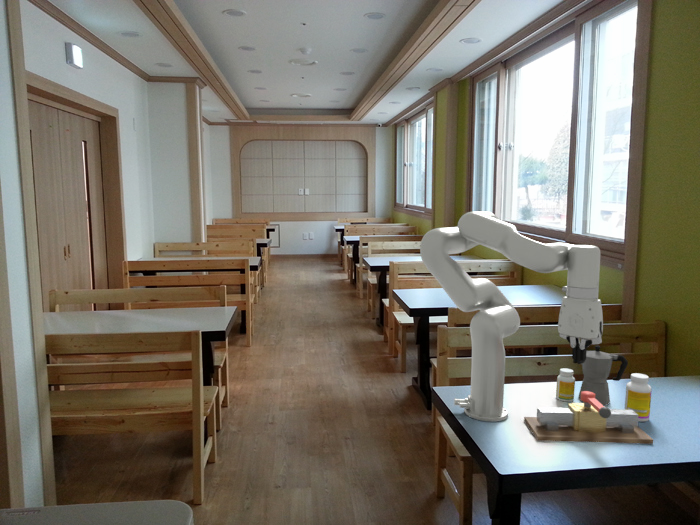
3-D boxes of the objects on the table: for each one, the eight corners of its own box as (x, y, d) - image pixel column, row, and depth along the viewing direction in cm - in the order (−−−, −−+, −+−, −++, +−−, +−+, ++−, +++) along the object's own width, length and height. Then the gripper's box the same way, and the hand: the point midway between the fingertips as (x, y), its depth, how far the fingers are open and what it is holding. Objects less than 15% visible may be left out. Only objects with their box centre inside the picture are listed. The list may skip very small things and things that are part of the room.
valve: (541, 433, 149) (543, 410, 149) (534, 423, 156) (535, 401, 155) (639, 436, 148) (641, 413, 148) (628, 426, 155) (629, 404, 154)
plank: (537, 440, 146) (538, 436, 146) (524, 420, 159) (524, 416, 159) (652, 443, 145) (653, 439, 145) (629, 423, 158) (630, 419, 158)
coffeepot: (571, 402, 174) (575, 346, 172) (571, 392, 183) (575, 339, 180) (626, 410, 168) (630, 352, 166) (623, 399, 177) (627, 345, 175)
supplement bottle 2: (652, 423, 158) (656, 380, 157) (627, 421, 160) (630, 378, 158) (645, 414, 165) (648, 373, 163) (621, 412, 166) (624, 371, 165)
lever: (578, 403, 153) (579, 389, 153) (591, 404, 153) (592, 389, 152) (599, 424, 139) (600, 409, 138) (613, 425, 139) (615, 409, 138)
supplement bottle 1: (552, 396, 179) (554, 367, 178) (567, 395, 180) (569, 367, 179) (562, 402, 174) (564, 373, 172) (577, 401, 175) (579, 372, 174)
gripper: (547, 291, 145) (544, 359, 147) (605, 298, 134) (601, 372, 136) (561, 288, 150) (558, 354, 152) (618, 295, 139) (614, 366, 141)
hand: (578, 362), depth 144 cm, fingers closed
